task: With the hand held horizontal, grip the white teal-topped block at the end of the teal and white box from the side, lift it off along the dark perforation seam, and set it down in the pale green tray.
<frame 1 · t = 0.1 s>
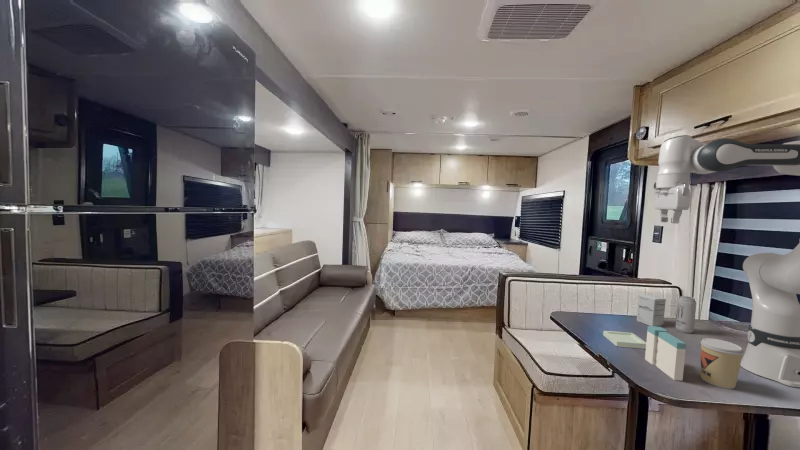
hand: (669, 222, 116), 48 cm above the table, tool pointing down, fingers open, 8 cm apart
coffee cup: (717, 382, 101), on the table
supplement box: (649, 323, 152), on the table
white teal-topped block: (654, 362, 113), on the table
energy drink can: (684, 331, 143), on the table
teal and white box: (668, 372, 106), on the table
tray: (624, 341, 130), on the table
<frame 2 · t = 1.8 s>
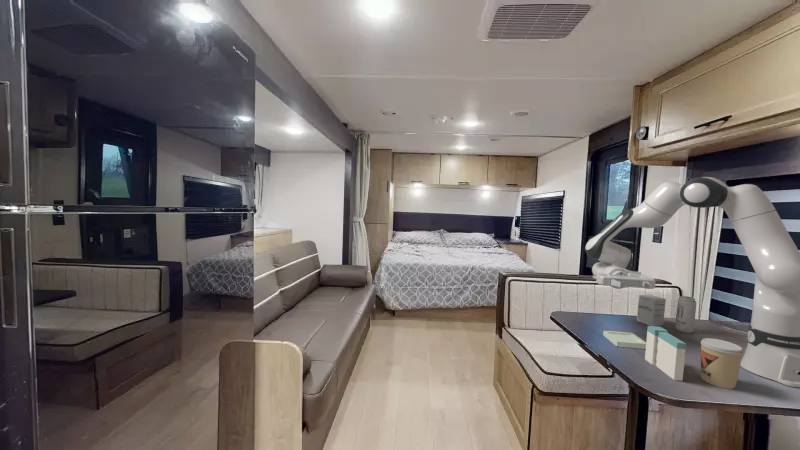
hand: (635, 285, 125), 23 cm above the table, tool horizontal, fingers open, 8 cm apart
nothing on the table moved.
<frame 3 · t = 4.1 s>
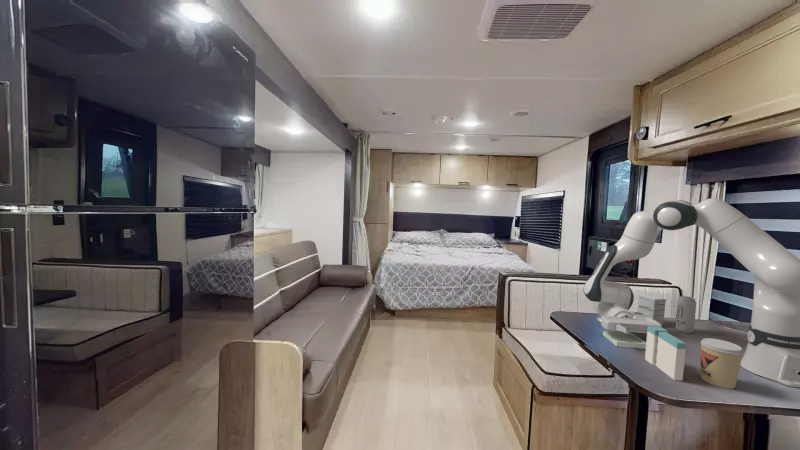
hand: (641, 332, 121), 7 cm above the table, tool horizontal, fingers open, 8 cm apart
nothing on the table moved.
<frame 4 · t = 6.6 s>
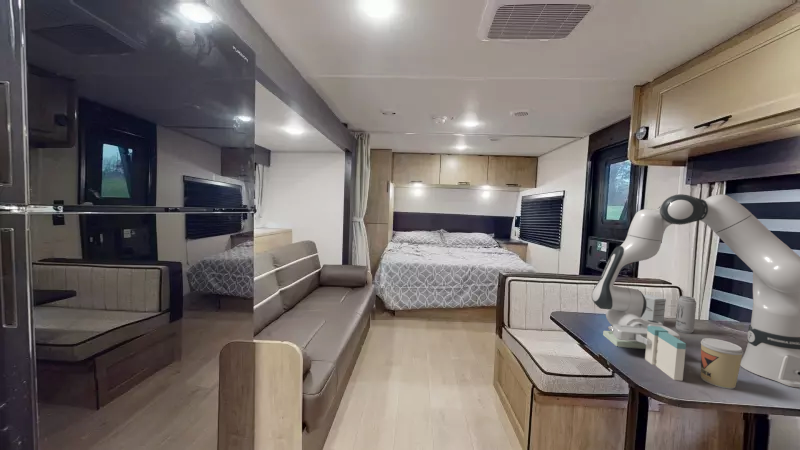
hand: (658, 343, 112), 7 cm above the table, tool horizontal, fingers closed on white teal-topped block, 4 cm apart
white teal-topped block: (654, 362, 113), on the table, touching gripper
everything else where it was.
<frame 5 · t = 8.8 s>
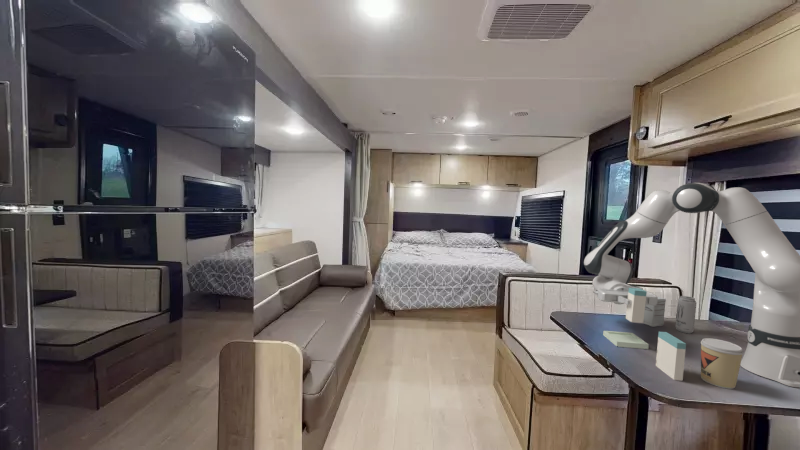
hand: (637, 303, 122), 17 cm above the table, tool horizontal, fingers closed on white teal-topped block, 4 cm apart
white teal-topped block: (634, 320, 124), point 10 cm above the table, touching gripper
everything else where it was.
when the fingers open (10 cm above the table, at t = 11.3 s): white teal-topped block drops 1 cm, resting on tray.
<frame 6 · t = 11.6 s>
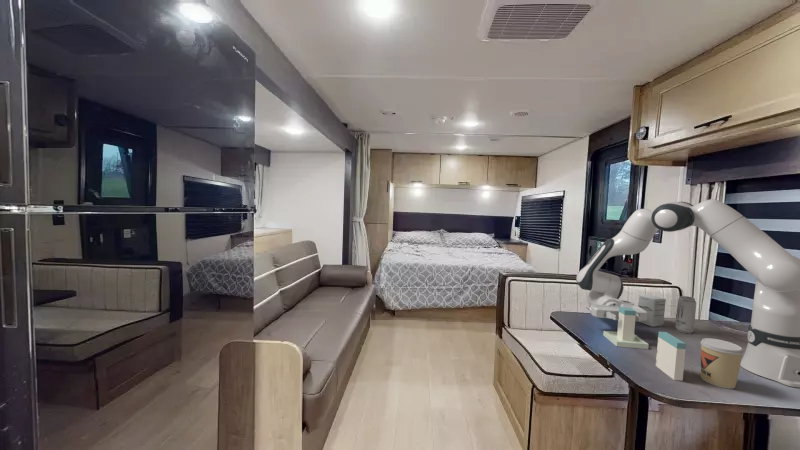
hand: (627, 319, 128), 9 cm above the table, tool horizontal, fingers open, 6 cm apart
white teal-topped block: (625, 338, 130), point 1 cm above the table, touching tray
everything else where it was.
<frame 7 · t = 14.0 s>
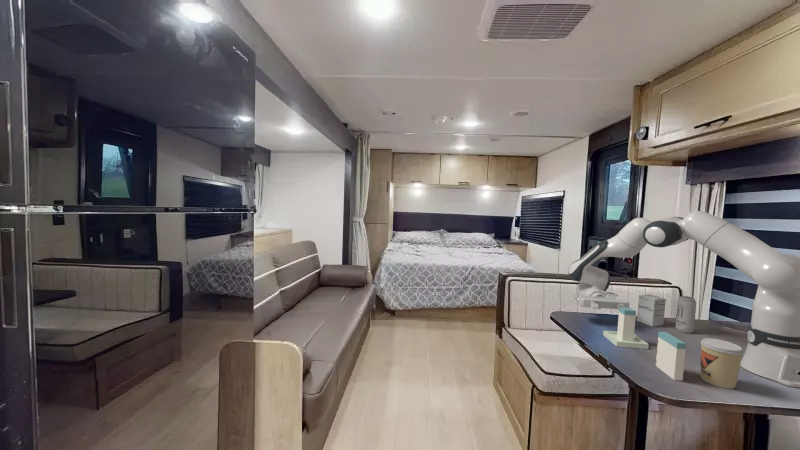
hand: (611, 308, 141), 10 cm above the table, tool horizontal, fingers open, 8 cm apart
nothing on the table moved.
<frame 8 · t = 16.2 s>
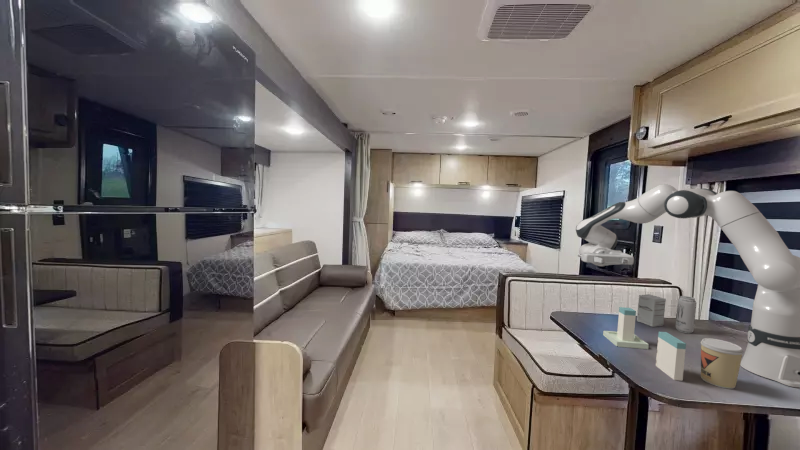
hand: (615, 261, 139), 30 cm above the table, tool horizontal, fingers open, 8 cm apart
nothing on the table moved.
at the end: white teal-topped block inside the target area on the tray (0.1 cm from its centre), point 1.2 cm above the tray's base; white teal-topped block tilted 0°; white teal-topped block moved 16.8 cm from its start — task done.
